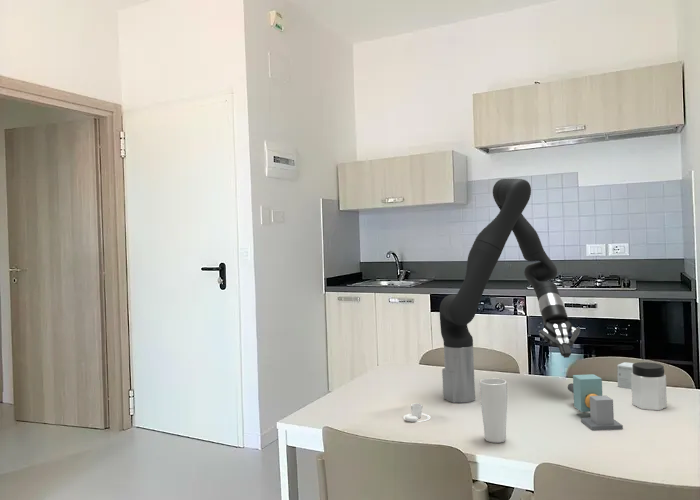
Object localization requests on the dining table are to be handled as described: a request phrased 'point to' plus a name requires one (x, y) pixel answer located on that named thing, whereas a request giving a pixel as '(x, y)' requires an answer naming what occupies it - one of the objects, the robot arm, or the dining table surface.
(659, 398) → the jar
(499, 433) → the drinking glass
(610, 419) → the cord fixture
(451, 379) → the robot arm
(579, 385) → the teal block with hole
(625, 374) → the skincare box
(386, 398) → the dining table surface
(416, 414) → the teacup and saucer
